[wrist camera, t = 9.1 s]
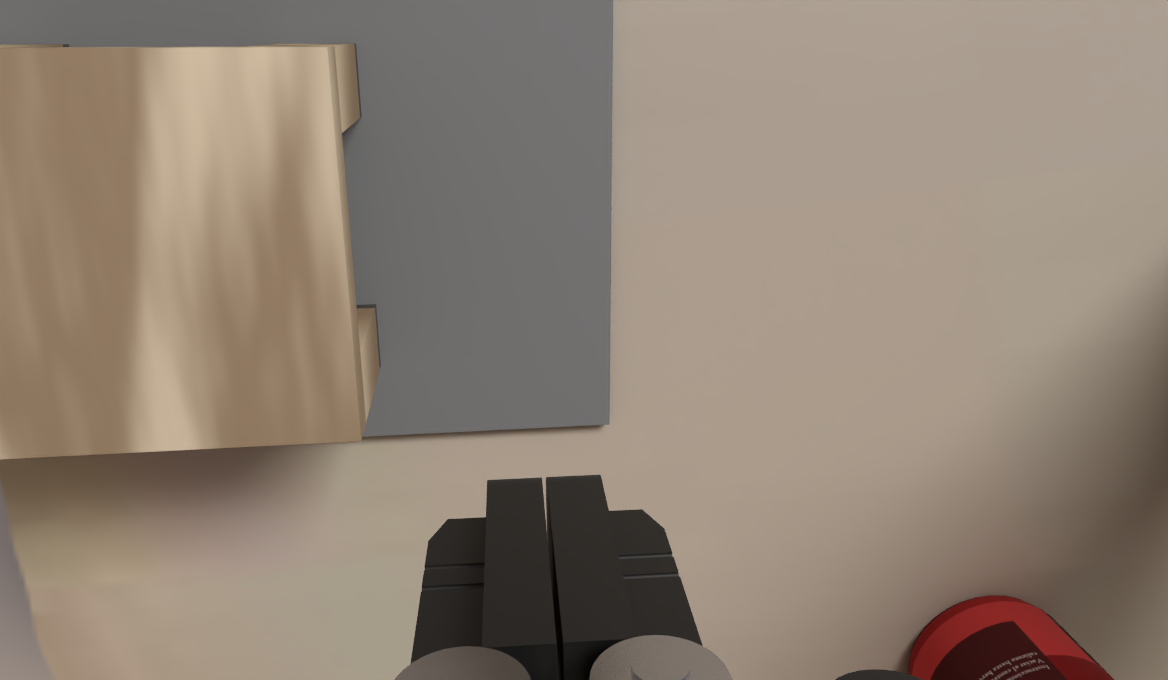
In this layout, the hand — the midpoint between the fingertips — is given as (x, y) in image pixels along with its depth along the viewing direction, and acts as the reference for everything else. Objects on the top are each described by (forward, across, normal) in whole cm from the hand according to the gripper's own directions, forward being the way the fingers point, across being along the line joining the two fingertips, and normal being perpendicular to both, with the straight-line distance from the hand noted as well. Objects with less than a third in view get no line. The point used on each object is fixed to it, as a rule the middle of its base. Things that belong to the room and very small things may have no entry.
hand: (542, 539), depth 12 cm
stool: (+20, +5, 0) cm, 21 cm away
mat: (+24, +8, 0) cm, 25 cm away
